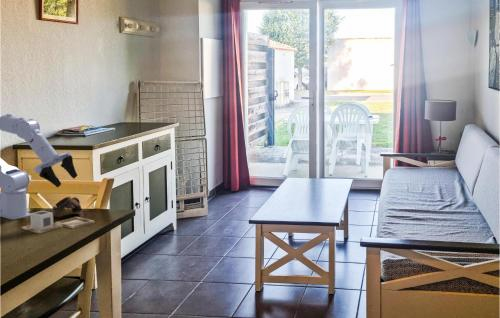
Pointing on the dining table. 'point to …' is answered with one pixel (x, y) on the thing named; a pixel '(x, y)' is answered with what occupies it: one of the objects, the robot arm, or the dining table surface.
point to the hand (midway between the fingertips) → (67, 181)
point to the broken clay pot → (68, 206)
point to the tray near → (42, 230)
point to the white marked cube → (41, 220)
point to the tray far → (75, 222)
